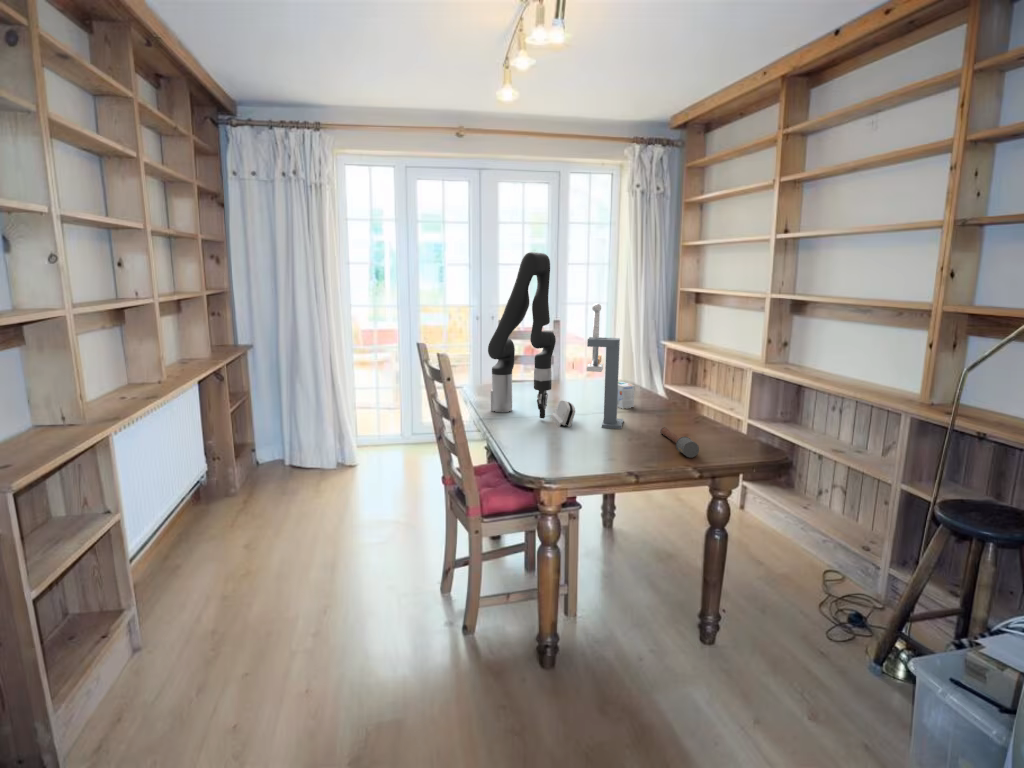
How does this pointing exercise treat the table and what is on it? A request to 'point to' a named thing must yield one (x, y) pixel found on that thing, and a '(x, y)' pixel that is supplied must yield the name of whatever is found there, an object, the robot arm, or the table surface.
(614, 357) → the press frame
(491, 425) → the table surface
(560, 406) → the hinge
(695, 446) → the mallet
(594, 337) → the ram
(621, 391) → the light bulb box
